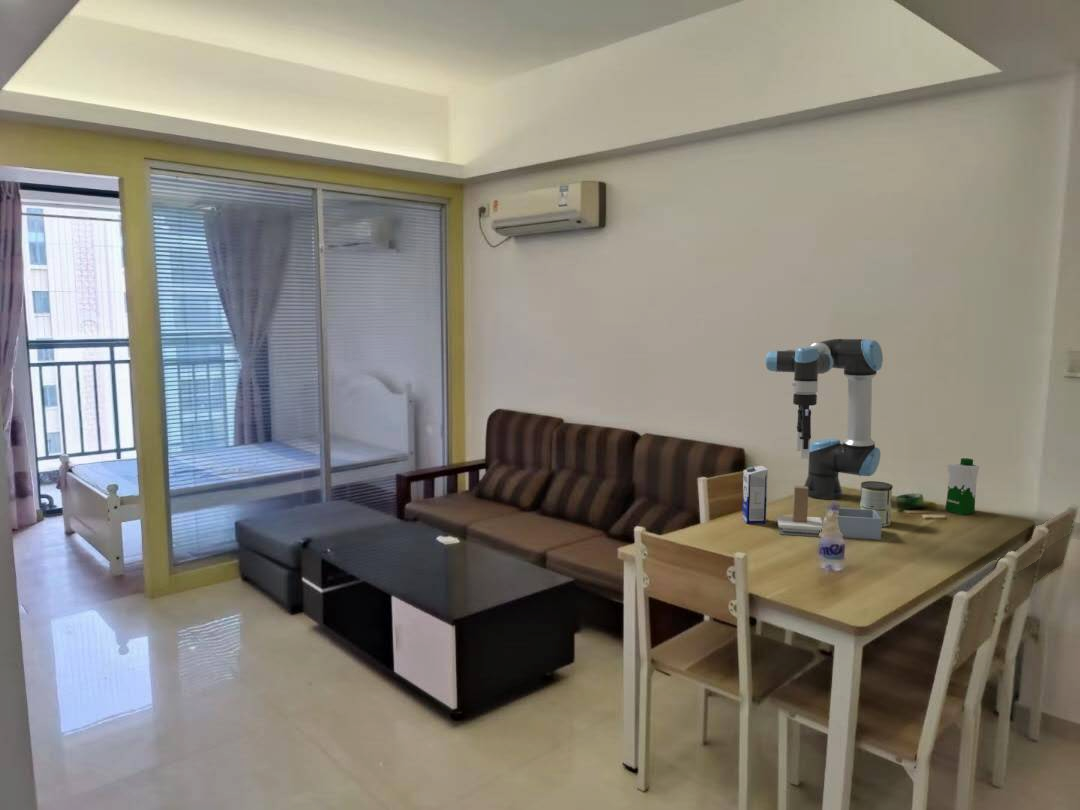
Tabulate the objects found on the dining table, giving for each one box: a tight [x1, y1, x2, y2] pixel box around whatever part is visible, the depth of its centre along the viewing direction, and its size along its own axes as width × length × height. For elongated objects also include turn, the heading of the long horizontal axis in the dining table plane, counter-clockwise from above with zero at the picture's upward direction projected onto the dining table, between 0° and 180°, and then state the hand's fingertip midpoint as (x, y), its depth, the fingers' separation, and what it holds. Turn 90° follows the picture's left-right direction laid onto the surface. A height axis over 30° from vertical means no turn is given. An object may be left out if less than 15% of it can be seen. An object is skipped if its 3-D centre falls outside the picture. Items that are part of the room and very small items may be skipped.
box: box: [837, 507, 882, 540], centre depth 250 cm, size 12×14×7 cm
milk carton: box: [741, 465, 769, 525], centre depth 264 cm, size 7×7×20 cm
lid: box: [776, 485, 824, 533], centre depth 254 cm, size 13×15×15 cm
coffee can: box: [859, 480, 894, 528], centre depth 262 cm, size 10×10×14 cm
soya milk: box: [944, 457, 980, 516], centre depth 275 cm, size 9×9×20 cm
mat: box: [776, 521, 820, 538], centre depth 254 cm, size 16×14×1 cm
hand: (802, 454), depth 251 cm, fingers open, 13 cm apart
